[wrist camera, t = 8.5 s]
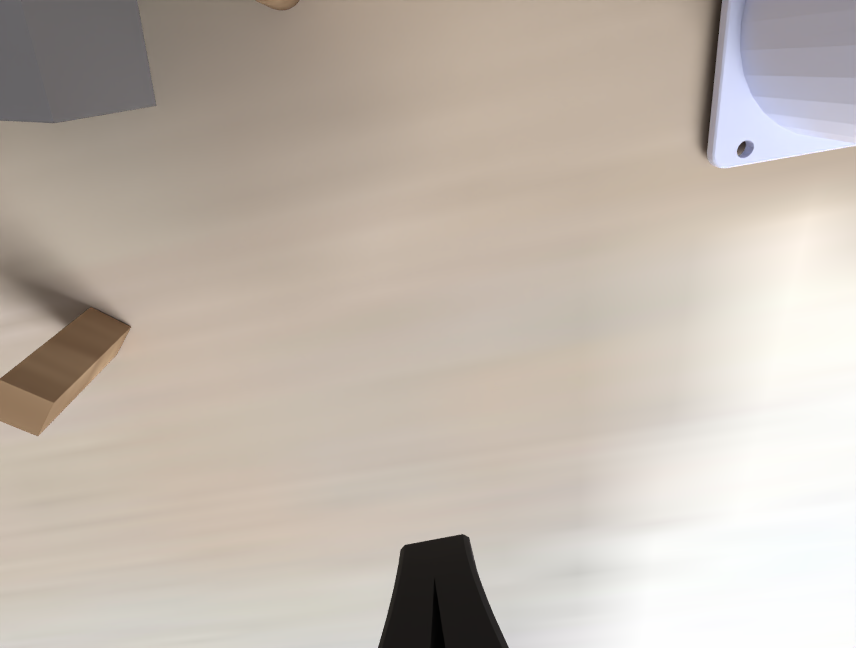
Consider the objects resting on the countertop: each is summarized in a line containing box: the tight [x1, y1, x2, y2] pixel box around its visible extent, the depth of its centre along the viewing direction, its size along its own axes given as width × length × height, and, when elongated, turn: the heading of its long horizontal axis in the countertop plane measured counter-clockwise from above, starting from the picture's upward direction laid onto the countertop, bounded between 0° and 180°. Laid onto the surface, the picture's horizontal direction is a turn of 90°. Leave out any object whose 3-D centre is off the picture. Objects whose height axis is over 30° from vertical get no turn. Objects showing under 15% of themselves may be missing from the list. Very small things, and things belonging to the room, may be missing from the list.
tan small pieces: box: [0, 0, 299, 436], centre depth 13 cm, size 18×1×4 cm, turn 144°
